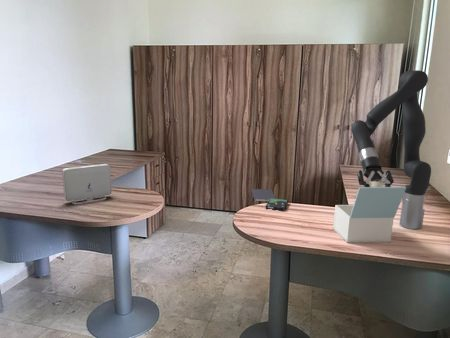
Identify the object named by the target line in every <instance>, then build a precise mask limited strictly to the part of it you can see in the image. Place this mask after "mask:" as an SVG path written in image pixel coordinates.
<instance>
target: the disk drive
mask: <svg viewBox="0 0 450 338" xmlns="http://www.w3.org/2000/svg"><path fill="white" fill-rule="evenodd" d="M288 204H289V199H281V198H275V199H273V198H272V199H270V200H269V201H267V203H266V204H265V210H268V209H272V210H271V211H276V210H278V211H277V212H285V209H286V207H287V205H288Z"/></svg>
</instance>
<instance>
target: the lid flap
mask: <svg viewBox="0 0 450 338" xmlns="http://www.w3.org/2000/svg"><path fill="white" fill-rule="evenodd" d="M358 187H359V186H358ZM405 190H406V187H405V186H391V187H385V186H382V187H371V186H370V187H364V186H361V187H359V188H358V190H357V193H356V197H355V199H354V203H353V205H354V206H353V209H352V212H351V215H350V218H394V219H395V216H396V214H397V211H398V209H399V208H400V204H401V203H402V201H403V195H404V192H405Z"/></svg>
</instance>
